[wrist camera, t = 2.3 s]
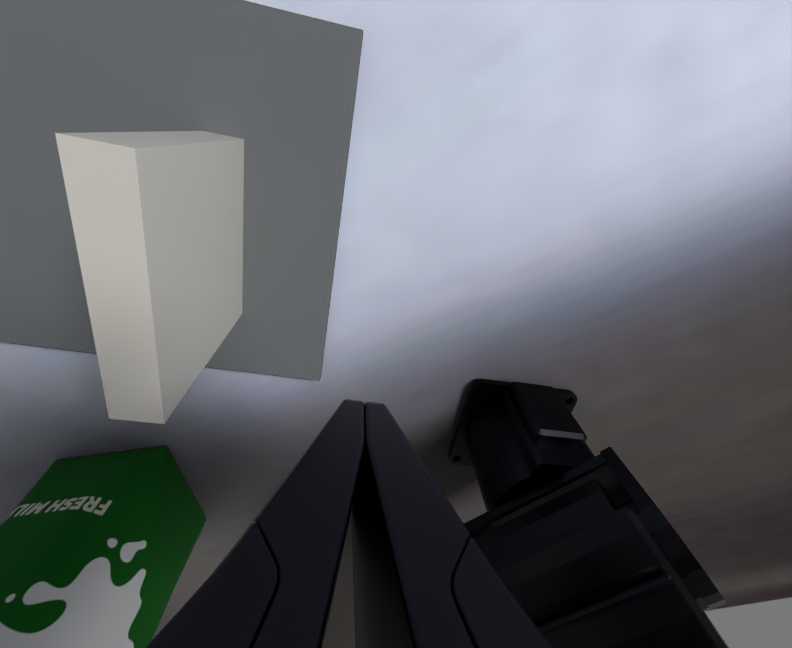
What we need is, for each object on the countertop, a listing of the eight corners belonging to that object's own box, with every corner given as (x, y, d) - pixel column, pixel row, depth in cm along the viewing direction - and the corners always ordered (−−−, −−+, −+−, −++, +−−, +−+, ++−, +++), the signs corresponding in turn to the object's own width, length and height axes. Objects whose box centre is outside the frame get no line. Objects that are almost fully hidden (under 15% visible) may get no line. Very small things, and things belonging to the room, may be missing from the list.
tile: (242, 313, 19) (164, 424, 12) (204, 308, 19) (102, 417, 12) (244, 139, 15) (134, 148, 8) (197, 129, 15) (44, 130, 8)
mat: (321, 374, 22) (319, 380, 21) (-82, 324, 19) (-95, 329, 18) (363, 33, 15) (362, 29, 14) (-269, -123, 12) (-300, -135, 11)
